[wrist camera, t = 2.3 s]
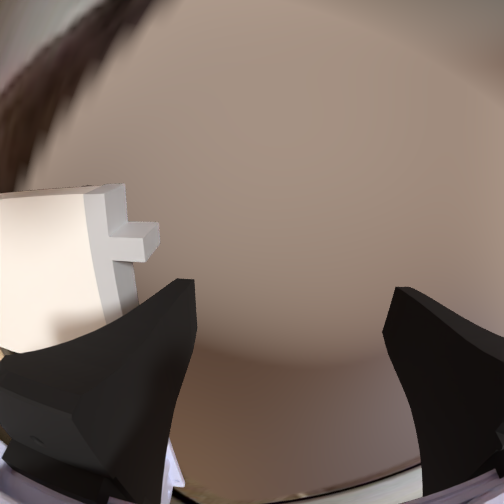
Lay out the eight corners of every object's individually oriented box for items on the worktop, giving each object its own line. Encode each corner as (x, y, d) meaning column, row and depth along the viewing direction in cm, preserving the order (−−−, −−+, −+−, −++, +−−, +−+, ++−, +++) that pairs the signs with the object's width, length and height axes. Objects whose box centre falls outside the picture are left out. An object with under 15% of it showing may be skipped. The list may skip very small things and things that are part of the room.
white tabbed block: (178, 351, 14) (166, 388, 11) (9, 321, 14) (-12, 343, 12) (163, 178, 11) (139, 192, 8) (-25, 192, 11) (-55, 206, 8)
